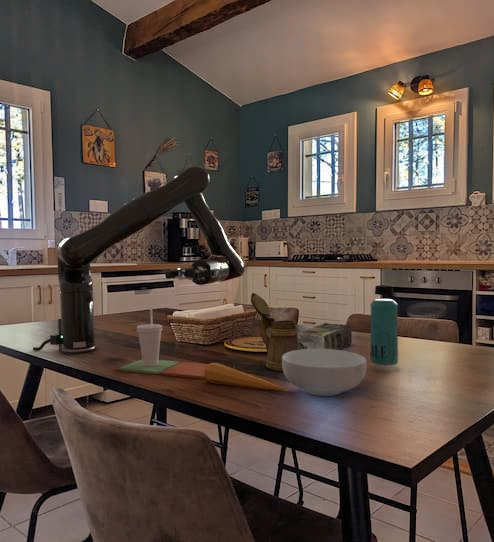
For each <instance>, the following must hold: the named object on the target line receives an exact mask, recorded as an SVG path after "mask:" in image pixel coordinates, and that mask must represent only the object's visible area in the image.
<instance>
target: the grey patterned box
mask: <svg viewBox="0 0 494 542" xmlns="http://www.w3.org/2000/svg"><path fill="white" fill-rule="evenodd" d="M352 329H353V326H352V325H350V324H341V323H339V324H338V323H329V322H324V323H322V324H319V325H315V326H312V327H309V328H307V329H303V330H299V331H298V332H299V333H298V341H299V347H300V350H301V349H333V350H341V349H343V348H346V347H348V346H351V345H352V343H353V340H352V338H353V337H352V336H353V334H352V332H353V330H352Z"/></svg>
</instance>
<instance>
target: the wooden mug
mask: <svg viewBox="0 0 494 542" xmlns="http://www.w3.org/2000/svg"><path fill="white" fill-rule="evenodd" d="M250 303H251V305H252V307H253V309H254V310H255V312H256V313H257V314H258V315H259V316H260V317H261V319H260V322H259V325H258V326H259V328H258V330H259V336H260V337H261V340H262V342H263V344H264V346H265V348H266V352H267V357H266V358H265V368H267V369H269V370H272V371H278V372H283V368H282V356H283V355H284V354H285V353H287V352H290V351H295V350H300V347H299V341H298V333H299V332H300V331H299V328H298V327H297V321H296V320H294V319H293V320H292V319H283V320H275V318H274V317H271V315H270V311H271V310H270V307H269V305H268V303H267V302H266V301H265V299H264V298H262V297H261V296H260V295H259V294H257V293H255V292H252V293H251V296H250ZM268 328H269V329H268ZM267 329H268V334H269V335H268V334H267Z"/></svg>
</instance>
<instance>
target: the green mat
mask: <svg viewBox="0 0 494 542" xmlns="http://www.w3.org/2000/svg"><path fill="white" fill-rule="evenodd" d="M180 363H181V361H176V360H166V359H159V360H158V365H156V366H143V361H142V358H141V359H139V360H136V361H133V362H131V363H128V364H125V365H122V366H120V367H118V368H117V369H118V371H121V372H129V373H130V372H132V373H141V374H151V375H158V374H161V372H162V371H165V370H167V369H169V368H171V367H174V366H176V365H178V364H180Z"/></svg>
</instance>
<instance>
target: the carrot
mask: <svg viewBox="0 0 494 542" xmlns="http://www.w3.org/2000/svg"><path fill="white" fill-rule="evenodd" d="M207 364H208V365H207V367H206V369H205V373H204V374H205V376H204V377H205V378H204V379H205V380H206V381H207V382H209V383H210V384H215V385H224V386H232V387H241V388H250V389H256V390H257V389H258V390H264V391H265V390H267V391H279V392H290V390H289V389H286V388H284V387H281V386H279V385H277V384H276V383H275V384H274V383H272V382H270V381H267V380H265V379H263V378H260V377H258V376H255V375H251V374H250V373H249V374H248V373H246V372H244V371H240V370H239V369H235V368H233V367H230V366H227V365H224V364H222V363H220V362H211V363H207Z"/></svg>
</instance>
